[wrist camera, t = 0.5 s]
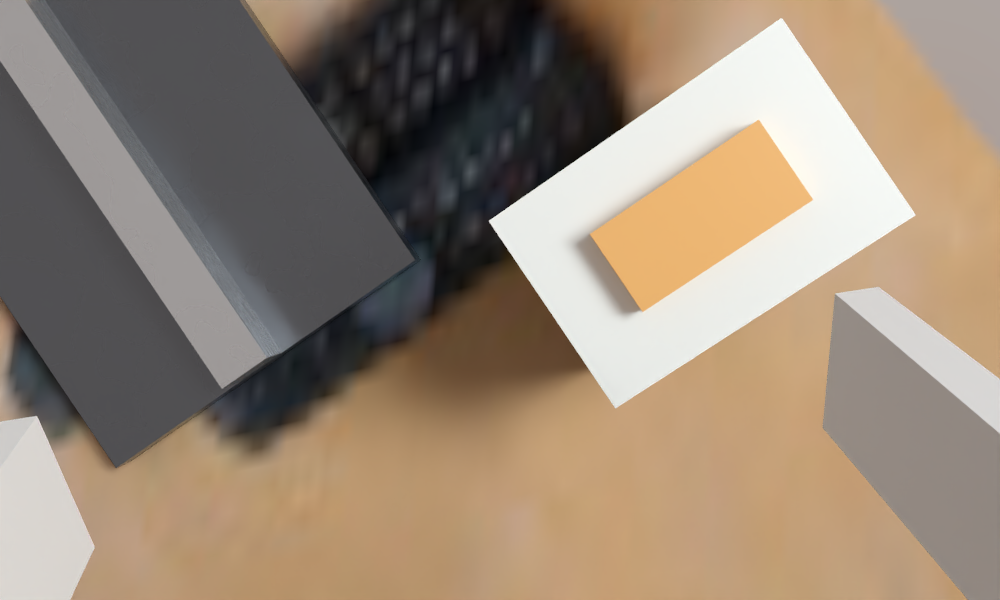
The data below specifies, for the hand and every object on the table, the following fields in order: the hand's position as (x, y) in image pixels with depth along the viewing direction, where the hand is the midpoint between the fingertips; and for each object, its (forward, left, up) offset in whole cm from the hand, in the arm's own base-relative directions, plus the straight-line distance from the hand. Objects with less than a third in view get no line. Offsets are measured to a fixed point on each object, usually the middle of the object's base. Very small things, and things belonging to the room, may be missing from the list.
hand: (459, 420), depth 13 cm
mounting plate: (+12, +9, -16) cm, 22 cm away
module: (0, -6, -16) cm, 17 cm away
